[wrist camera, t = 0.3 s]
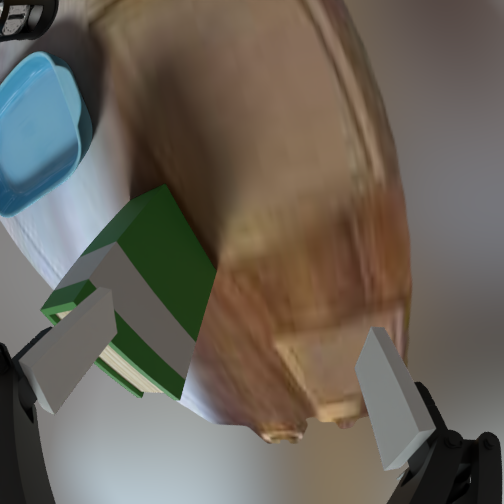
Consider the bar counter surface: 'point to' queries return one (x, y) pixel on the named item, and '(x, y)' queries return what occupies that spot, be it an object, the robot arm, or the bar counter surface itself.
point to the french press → (25, 19)
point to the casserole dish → (39, 130)
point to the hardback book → (144, 293)
